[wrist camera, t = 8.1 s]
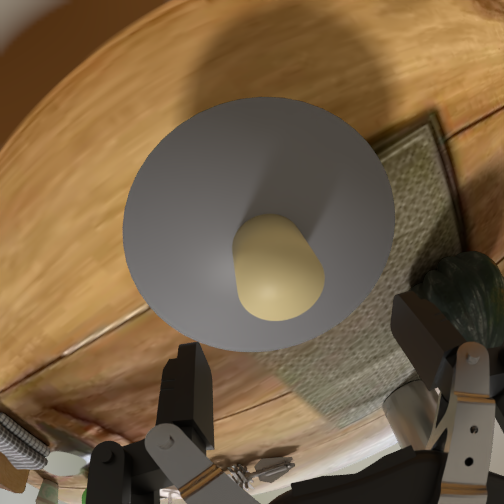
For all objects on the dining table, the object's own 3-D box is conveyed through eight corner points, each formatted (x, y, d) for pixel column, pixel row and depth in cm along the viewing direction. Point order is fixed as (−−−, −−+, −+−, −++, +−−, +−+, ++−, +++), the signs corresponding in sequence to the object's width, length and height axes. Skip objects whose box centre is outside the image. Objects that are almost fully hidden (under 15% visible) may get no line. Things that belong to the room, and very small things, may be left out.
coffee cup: (66, 488, 60) (62, 515, 50) (53, 486, 61) (49, 511, 50) (47, 477, 56) (42, 505, 46) (36, 476, 57) (30, 502, 46)
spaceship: (131, 498, 41) (152, 517, 42) (289, 462, 43) (303, 484, 43) (139, 475, 49) (157, 495, 50) (283, 437, 50) (296, 459, 51)
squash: (511, 294, 29) (553, 322, 16) (444, 368, 35) (454, 424, 22) (450, 228, 34) (473, 226, 21) (384, 308, 40) (372, 344, 26)
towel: (54, 446, 44) (47, 473, 37) (25, 449, 47) (19, 472, 40) (1, 407, 38) (-10, 435, 31) (-18, 416, 40) (-27, 439, 33)
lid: (377, 86, 16) (430, 84, 11) (381, 310, 24) (412, 353, 19) (93, 141, 15) (48, 156, 10) (177, 358, 24) (172, 412, 19)
